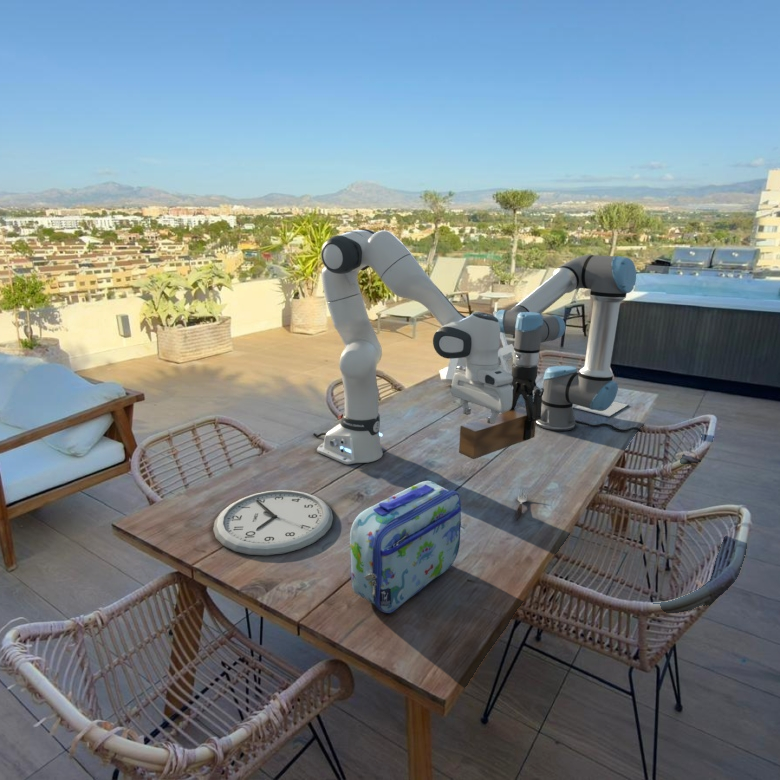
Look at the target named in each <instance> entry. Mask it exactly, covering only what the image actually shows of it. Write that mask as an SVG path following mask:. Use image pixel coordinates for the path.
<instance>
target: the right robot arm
mask: <svg viewBox="0 0 780 780" xmlns="http://www.w3.org/2000/svg"><path fill="white" fill-rule="evenodd" d="M636 282H637V268H636V265H635V263H634V261H633V260H632V259H631V258H630V257H626V256H619V255H598V254H597V255H595V254H586V255H585V254H584V255H581V256H578V257H575V258H572V259H570V260H568V261H567V262H565V263H563V264H561V265H560V266H559V267H558V268H556V269H554V271H553V272H552V275H551V277H549V278H548V279H547V280H546V281H544V282H543V283H542V284H541V285H540V286H538V287H537V288H536V289H534V290H533V291H532V292H531V293H529V294H528V295H527V296H526V297H524V298H523V299H522V300H521V301H519V302H518V303H517V304H516V305H515V306H513V307H512V308H511V309H499V310H497V311H496V314H495V317H496V318H497V319H498V321H499V324H500V332H502V333H504V334H505V335H511V336H514V342H513V343H514V345H513V346H514V353H513V359H512V363H513V364H512V365H511V373H510V374H511V375H512V377H513V381H512V382H511V383H509V384H510V385H511V386H512V385H513V401H512V408H511V409H510V410H514V409H516V406H517V404H518V401H519V398H520V395H521V396H522V399H523V400H524V406H525V407H524V408H526V413H527V420H525V426H524V436H523V440H524V441H523V442H526V441H529V440H531V439H532V438H531V431H532V430H533V429H534V421H536V426H537V427H539V428H542V429H544V430H549V431H556V432H567V431H572V430H574V429H575V428H576V424H578V425H582V426H587V427H590V428H598V427H608V428H611V429H613V430H615V431H617V432H622V433H627V432H631V431H633V430H634V431H635V430H636V431H637V432H640V433H643V430H642V429H641V428H639V427H637V426H632V427H630V428H625V429H624V428H618V427H617V426H614V425H612V424H610V423H607V422H602V423H597V424H593V423H592V424H591V423H588V422H584V421H580V420H577V419H576V418H575V417H576V416H575V413H574V407H573V405H575V406H578V405H579V406H583V407H586V408H590V409H592V410H598V411H604V410H606V409H607V408H609V407H610V405H611V404H612V403H613V401H614V402H615V399H616V397H617V394H618V391H619V386H618V385H619V384H618V382H617V381H615V380H613V379H614V373H613V372H612V371H611V364H612V357H613V349H614V343H615V338H616V331H617V325H618V321H619V320H618V319H619V313H620V307H621V302H623V301H624V300H625V299H626V298H627V294H630V293H632V291H633V290H634V288H635V285H636ZM577 289H586V290H590V292H589V296H590V297H591V299H592V300H593V302H592V310H591V317H590V325H589V332H588V336H587V337H588V338H587V343H586V344H587V345H586V351H585V358H584V364H583V365H584V366H583V367H582V368H580V369H579V370H578V368H577V367H576V366H571V365H555V366H554V365H553V366H550V367H547V368H546V369H545V371H544V375H543V381H542V382H543V383H542V387H539V386H538V385H537V378H538V371H539V366H538V365H539V361H540V351H541V350H540V349H541V343H545V342H550V341H551V342H552V341H555V340H557V339H560V338H561V337H562V336H564V334H565V332H566V322H565V321H564V319H563V317H562V316H559V315H552V314H549V315H543V313H544V312H545V311H547V310H548V309H549V308H550V307H551V306H552V305H554V304H555V303H556V302H558V301H559V300H560V299H562V297H563V296H565V295H566V294H571V293H572V292H574V291H575V290H577ZM527 395H528V396H527ZM510 410H509V411H510Z"/></svg>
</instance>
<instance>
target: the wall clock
mask: <svg viewBox="0 0 780 780" xmlns="http://www.w3.org/2000/svg"><path fill="white" fill-rule="evenodd" d="M333 520H334V516H333V511H332V509H331V507H330V506H329V505H328V503H327V502H325V501H324V500H322V499H321V498H320V497H318V496H315V495H313V494H310V493H307V492H303V491H298V490H287V489H286V490H285V489H280V490H279V489H277V490H267V491H262V492H258V493H257V492H256V493H253V494H250V495H247V496H245V497H241V498H240V499H238V500H236V501H234V502H233V503H230V504H229V505H228V506H227V507H225V508H224V509H223V510H222V511H220V512H219V513H218V516H217V517H216V518H215V519H214V523H213V529H212V530H213V533H214V536H215V540H217V541H218V542H219V543H220V544H221V545H222V546H223V547H225V548H227V549H229V550H231V551H233V552H236V553H241V554H244V555H249V556H250V555H251V556H252V555H253V556H273V555H281V554H282V555H283V554H286V553H292V552H294V551H299V550H301V549H304V548H305V547H307V546H310V545H312V544H314V543H316V542H317V541H319V540H320V539H321V538H323V537H324V536H325V535H326V534H327V533H328V532H329V530H330V529H331V527H332V525H333Z"/></svg>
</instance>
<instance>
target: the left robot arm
mask: <svg viewBox="0 0 780 780" xmlns="http://www.w3.org/2000/svg"><path fill="white" fill-rule="evenodd" d="M320 258H321V261H322V264H323V268H322V269H321V284H322V289H323V294H324V298H325V302H326V305H327V309H328V311H329V315H330V318H331V322H332V324H333V327H334V329H335V330H336V331H337V332H338V334H339V336H340V339H341V340H342V342H343V345H344V348H343V351H342V352H341V355H340V357H339V364H338V366H339V371H340V373H341V380H342V385H343V393H344V412H343V413H341V414H340V415H338V416H337V420H340V422H339V423H338V424H336V425H335V426H334V427H332V428H330V429H329V430H327V432H320V433H319V434H317V433H315V432H314V433H312V435H313V436H314V437H316V438H319V437H321V436H324V440H323V442H322V443H321V444H319V445H318V447H317V448H316V452H317V453H318V454H321V455H323V456H325V457H327V458H330V459H332V460H334V461H337V462H339V463H340V464H341V463H342V464H343V465H354V464H366V463H372V462H376V461H378V460H380V459H381V458H382V457H383V455H384V452H383V449H382V445H381V439H380V437H383V433H381V432H380V427H381V414H380V413H379V405H380V404H379V401H380V399H379V394H380V393H379V392H380V391H379V389H378V379H377V367H378V364H379V363H380V362H381V359H382V356H383V351H382V344H381V343H380V342H379V339H378V336H377V334H376V331H375V329H374V327H373V325H372V323H371V321H370V318H369V315H368V311H367V308H366V305H365V301H364V298H363V294H362V291H361V288H360V285H359V280H358V276H359V273H360V271H366V270H367V269H368V268H371V269H372V270H374V272H375V273H376V274H377V276H378V277H379V279H380V280H381V281H382V283H383V284H384V285H385V286H386V287H387V288H388V290H389V291H391V293H393V294H394V295H395V296H397V297H398V298H402V299H407V300H412V301H414V302H417V303H419V304H421V305H422V306H424V307H425V308H426V309H427V310H428V311H429V313H430V314H431V315H432V316H433V318H435V319H436V321H437V322H438V323H439V325H441V326H440V327H439V328H438V329H437V330H436V331H435V332H434V334H433V338H432V346H433V349H434V351H435V353H437V355H438V356H440V357H441V358H443V359H448V360H450V359H453V358H463V357H465V358H466V367H463V366H458V367H456V368H455V370H454V376H453V381H452V384H451V387H450V393H451V395H452V397H455V398H457V399H460V404H461V407H462V414H463V415H466V416H470V415H471V414H472V412H471V411H472V408H471V407H470V406H469V403H472V404H475V405H477V406H480V407H483V408H486V409H489V410H490V413H491V415H490V416H488V421H487V422H488V423H490V424H495V422H496V417H497V416H498V414H500V413H504V412H507V411H509V410H510V409H511V408H512V401H513V390H512V386H511V385H510V384H509V383H511V382H512V381H513V377H512V375H511V374H512V373H510V374H509V373H508V372H506V371H505V370H503V367H501V365H500V366H498V363H499V360H498V350H499V349H500V348H501V338H500V324H499V321H498V319H497V318H496V317H494V315H493V314H490V313H486V312H479V311H478V312H477V311H476V312H472V313H471V314H470V315H468V316H466V315H464V314H462V313H461V312H460V311H459V310H458V309H457V308H456V307H455V305H453V304H452V302H451V301H450V300H449V299H448V298H447V296H446V295H445V294H444V293H443V292H442V291H441V289H440V288H438V286H437V285H436V283H434V282H433V280H432V279H431V278H430V277H429V275H428V273H426V271H425V270H424V269H423V267H422V266H421V265H420V263H419V262H418V261H417V259H416V258H415V256H414V255H413V254H412V252H410V250H409V249H408V248H407V247H406V245H405V244H403V242H402V241H401V240H400V239H399V238H398V237H397V236H395V234H393V233H392V232H391V231H389V230H378V231H373V230H371V229H365V228H363V229H357V230H356V229H355V230H349V231H346V232H344V233H341V234H337V235H334V236H332V237H330V238H328V239H327V240H326V241H325V242H324V243H323V244H322V246H321V250H320ZM457 368H458V369H457Z"/></svg>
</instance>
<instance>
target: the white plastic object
mask: <svg viewBox="0 0 780 780" xmlns="http://www.w3.org/2000/svg"><path fill="white" fill-rule="evenodd" d="M496 313H497V311H496V310H495V311H492V315H493V316H494V317H495V314H496ZM500 342H501V345H502V347H500V348H499V350H498V360H499V363H498V366H500V367H501V366H502V367H501V368H502V369H503V370H505V371H506V372H508V373H509V374H511V371H510V369H509V365H508V361H510V360H513V353H514V345H513V343H511V344H508V341H507V337H506V334H505V333H502V332H500ZM458 366H463V367H466V358H465V357H463V358H453V359H449V362H448V366H446V367H444V368H442V369H440V370H439V371H438V372H439V376H440V381H442V383H443V384H444V385H445V386H449V385H452V381H453V376H454V370H455V368H456V367H458ZM457 369H458V368H457ZM512 390H513V385H512ZM527 396H528V395H527Z"/></svg>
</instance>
